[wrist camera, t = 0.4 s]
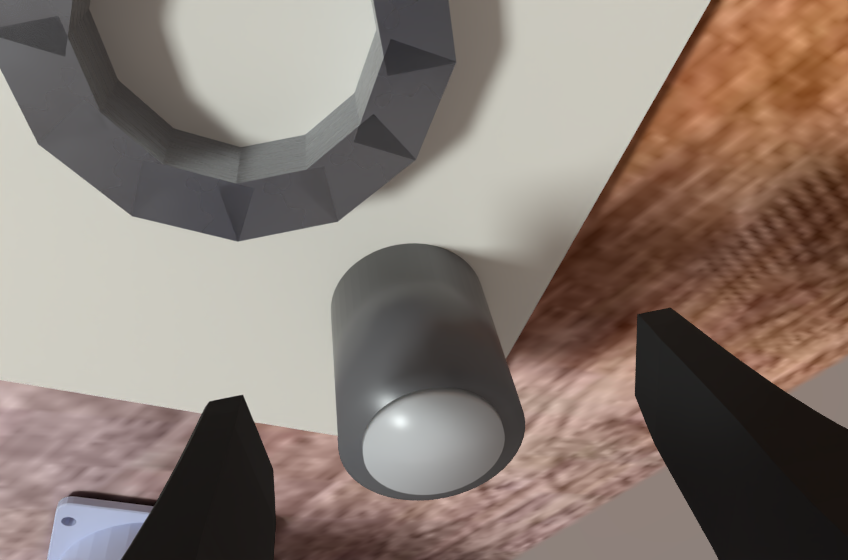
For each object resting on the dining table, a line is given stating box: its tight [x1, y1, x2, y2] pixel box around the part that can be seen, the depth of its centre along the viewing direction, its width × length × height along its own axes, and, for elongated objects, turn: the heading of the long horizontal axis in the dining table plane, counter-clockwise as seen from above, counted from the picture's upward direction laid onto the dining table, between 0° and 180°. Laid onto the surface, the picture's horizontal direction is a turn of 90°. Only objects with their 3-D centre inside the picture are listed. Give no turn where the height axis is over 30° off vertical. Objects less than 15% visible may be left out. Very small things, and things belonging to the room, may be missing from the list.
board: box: [0, 0, 711, 436], centre depth 21 cm, size 20×16×1 cm
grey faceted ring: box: [0, 0, 456, 242], centre depth 17 cm, size 10×10×2 cm
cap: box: [331, 243, 525, 500], centre depth 21 cm, size 5×5×6 cm
